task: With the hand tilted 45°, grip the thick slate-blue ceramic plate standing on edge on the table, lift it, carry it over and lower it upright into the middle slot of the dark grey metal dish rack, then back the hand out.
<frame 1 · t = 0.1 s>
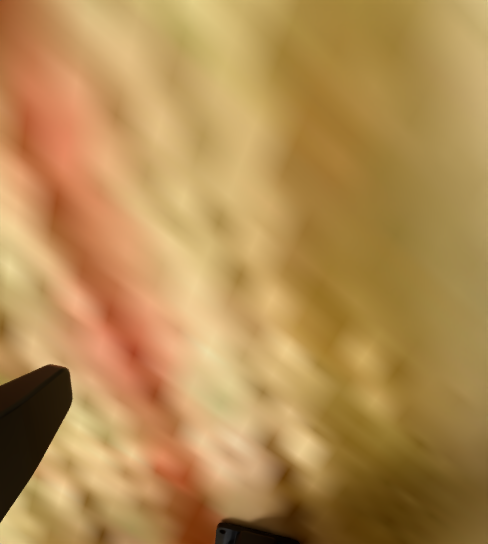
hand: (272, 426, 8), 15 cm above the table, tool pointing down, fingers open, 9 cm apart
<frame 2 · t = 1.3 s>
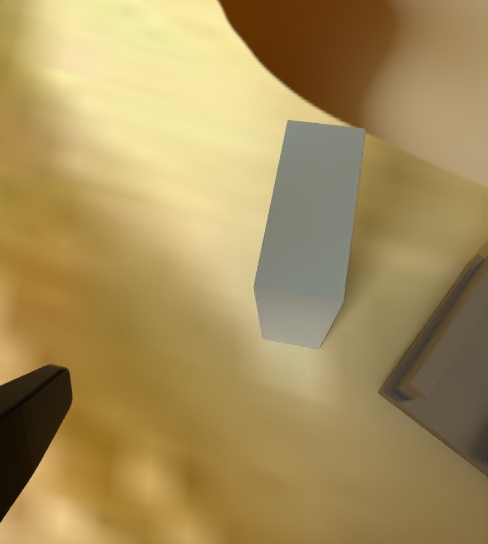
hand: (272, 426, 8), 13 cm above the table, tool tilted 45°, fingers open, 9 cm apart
plate: (300, 283, 23), on the table
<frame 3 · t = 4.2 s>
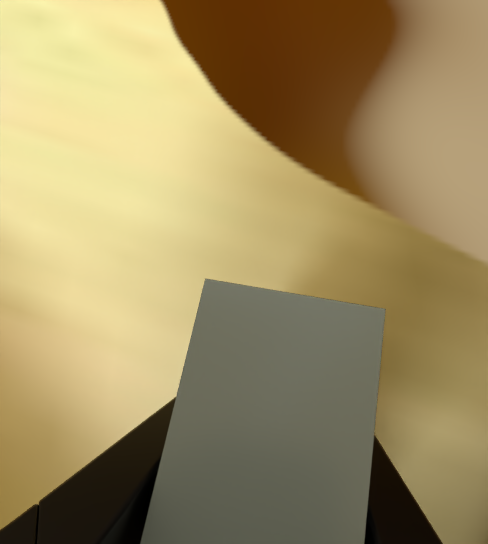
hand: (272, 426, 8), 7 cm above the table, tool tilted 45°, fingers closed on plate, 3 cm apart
plate: (267, 469, 14), on the table, touching gripper
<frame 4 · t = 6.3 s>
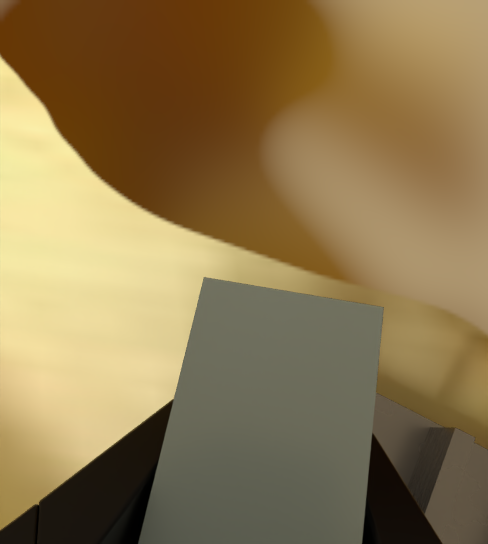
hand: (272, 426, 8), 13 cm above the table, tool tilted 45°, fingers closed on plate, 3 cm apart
plate: (266, 468, 14), point 7 cm above the table, touching gripper
when the fingers open (9 cm above the table, at t = 8.5 s): plate stays where it is, resting on dish rack.
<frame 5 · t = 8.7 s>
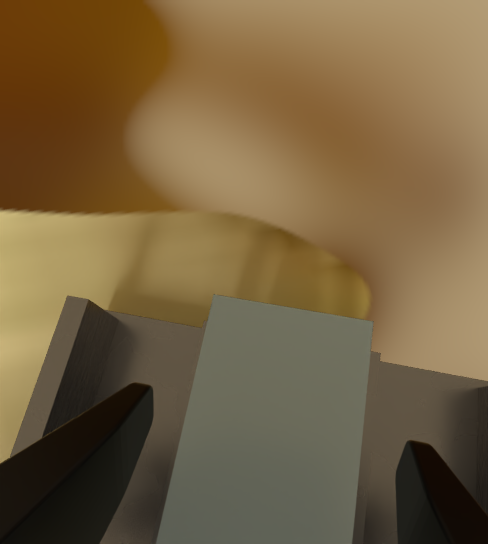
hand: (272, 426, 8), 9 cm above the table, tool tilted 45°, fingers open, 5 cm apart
dish rack: (269, 464, 16), on the table
plate: (268, 466, 15), point 1 cm above the table, touching dish rack
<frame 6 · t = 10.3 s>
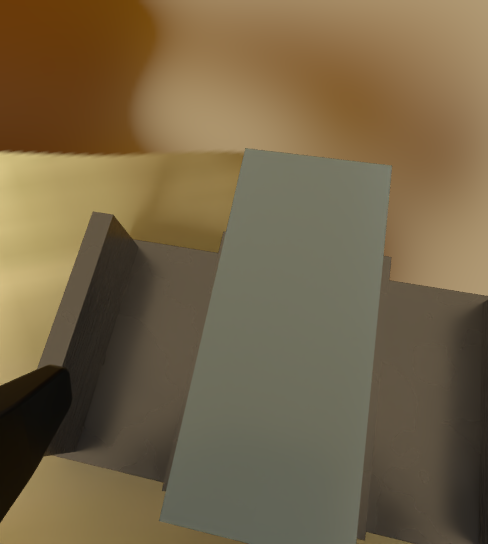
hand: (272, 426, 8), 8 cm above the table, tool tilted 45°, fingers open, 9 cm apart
dish rack: (283, 378, 17), on the table
plate: (283, 375, 16), point 1 cm above the table, touching dish rack
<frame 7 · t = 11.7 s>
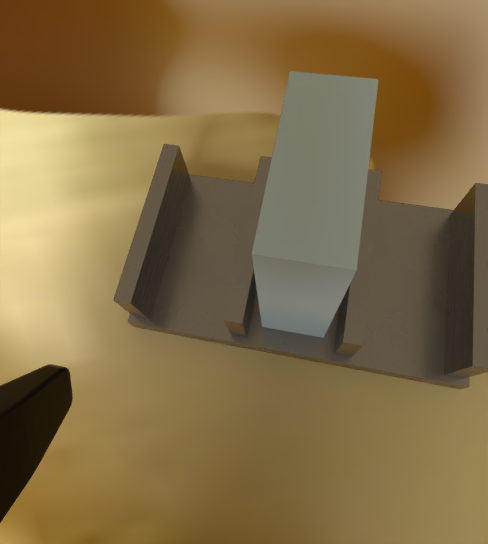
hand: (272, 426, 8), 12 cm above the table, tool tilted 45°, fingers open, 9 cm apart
dish rack: (301, 273, 22), on the table
plate: (303, 266, 21), point 1 cm above the table, touching dish rack
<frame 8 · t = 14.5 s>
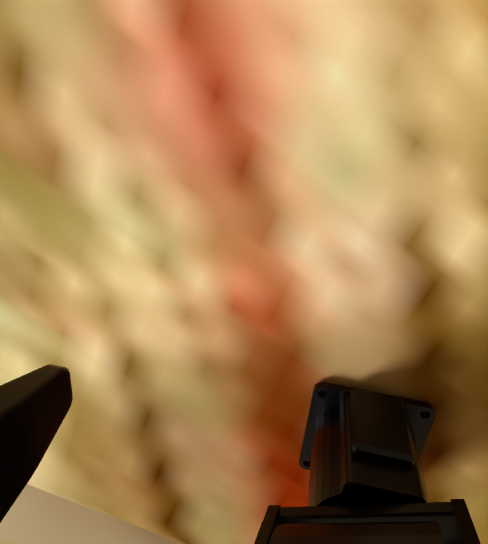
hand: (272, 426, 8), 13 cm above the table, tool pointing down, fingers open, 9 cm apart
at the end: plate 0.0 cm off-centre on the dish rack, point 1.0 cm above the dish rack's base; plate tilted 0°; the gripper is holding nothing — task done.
